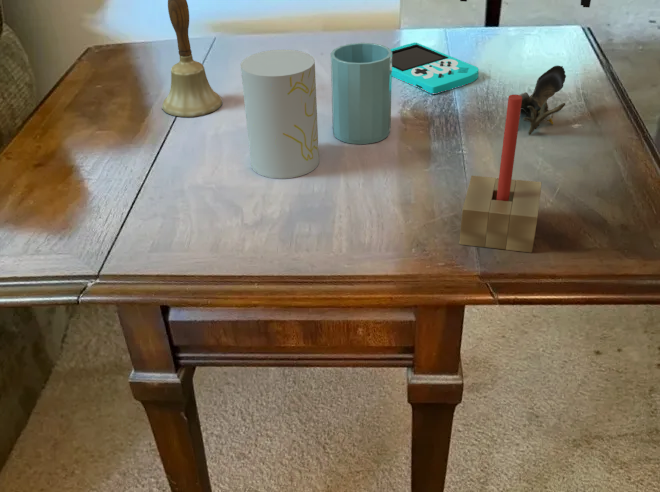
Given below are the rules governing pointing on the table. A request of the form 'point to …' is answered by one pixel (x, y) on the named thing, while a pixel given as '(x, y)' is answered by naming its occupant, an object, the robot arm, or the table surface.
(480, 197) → the straw holder
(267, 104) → the cup
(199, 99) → the hand bell
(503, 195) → the straw
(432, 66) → the handheld game console
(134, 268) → the table surface
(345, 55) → the tumbler
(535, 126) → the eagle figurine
